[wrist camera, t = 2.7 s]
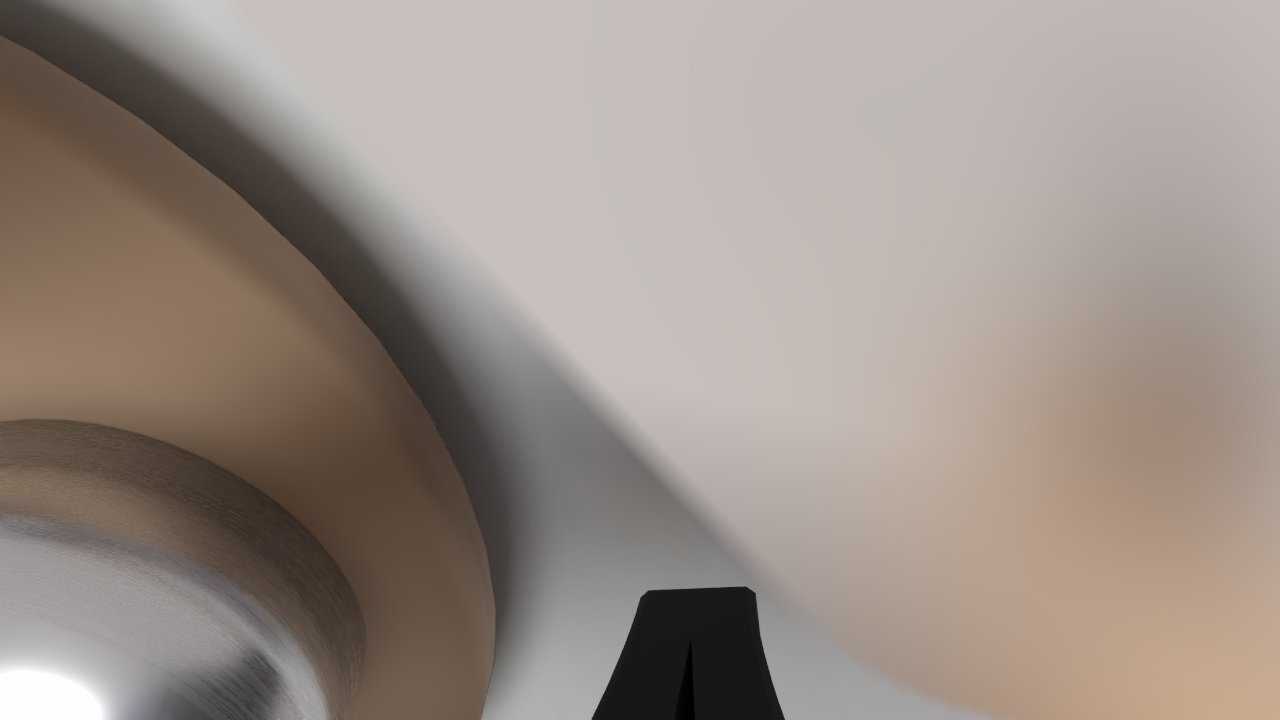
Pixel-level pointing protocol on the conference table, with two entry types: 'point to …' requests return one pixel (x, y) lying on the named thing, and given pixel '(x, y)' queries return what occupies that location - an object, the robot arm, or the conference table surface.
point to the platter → (233, 372)
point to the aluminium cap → (161, 588)
